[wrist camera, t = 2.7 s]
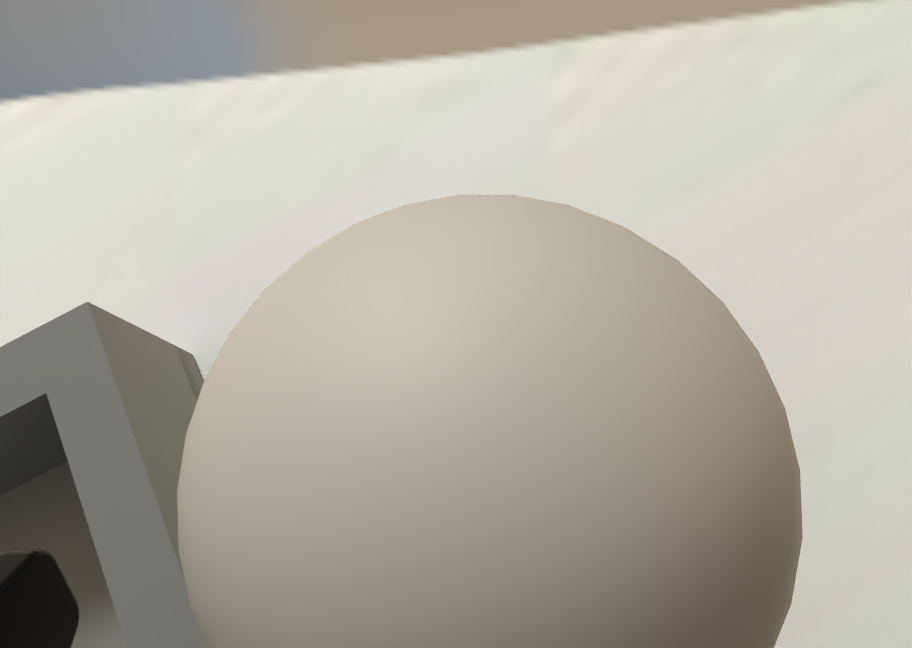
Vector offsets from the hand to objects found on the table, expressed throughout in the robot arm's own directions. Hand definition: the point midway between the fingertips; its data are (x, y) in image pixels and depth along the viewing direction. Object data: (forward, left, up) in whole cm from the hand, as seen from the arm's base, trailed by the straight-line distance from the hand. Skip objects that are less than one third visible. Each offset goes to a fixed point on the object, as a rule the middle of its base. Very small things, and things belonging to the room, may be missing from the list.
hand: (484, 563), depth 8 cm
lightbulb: (+1, 0, -8) cm, 9 cm away
